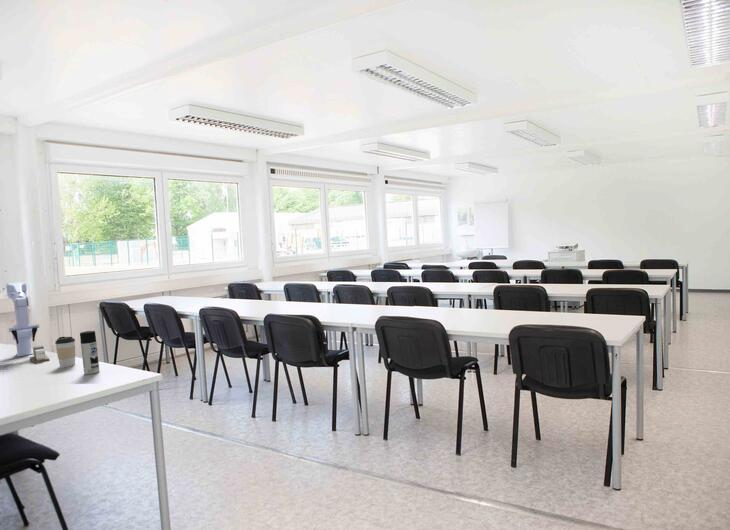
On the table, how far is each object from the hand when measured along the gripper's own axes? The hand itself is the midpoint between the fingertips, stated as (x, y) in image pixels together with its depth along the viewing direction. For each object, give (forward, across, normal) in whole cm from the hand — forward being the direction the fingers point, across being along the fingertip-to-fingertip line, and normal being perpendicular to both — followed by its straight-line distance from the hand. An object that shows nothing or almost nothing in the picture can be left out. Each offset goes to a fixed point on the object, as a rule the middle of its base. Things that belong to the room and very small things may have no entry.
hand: (25, 342), depth 302 cm
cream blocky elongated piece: (+9, +5, -10) cm, 15 cm away
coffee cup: (+10, +14, -44) cm, 47 cm away
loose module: (+8, +5, -10) cm, 14 cm away
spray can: (+10, +20, -74) cm, 77 cm away
